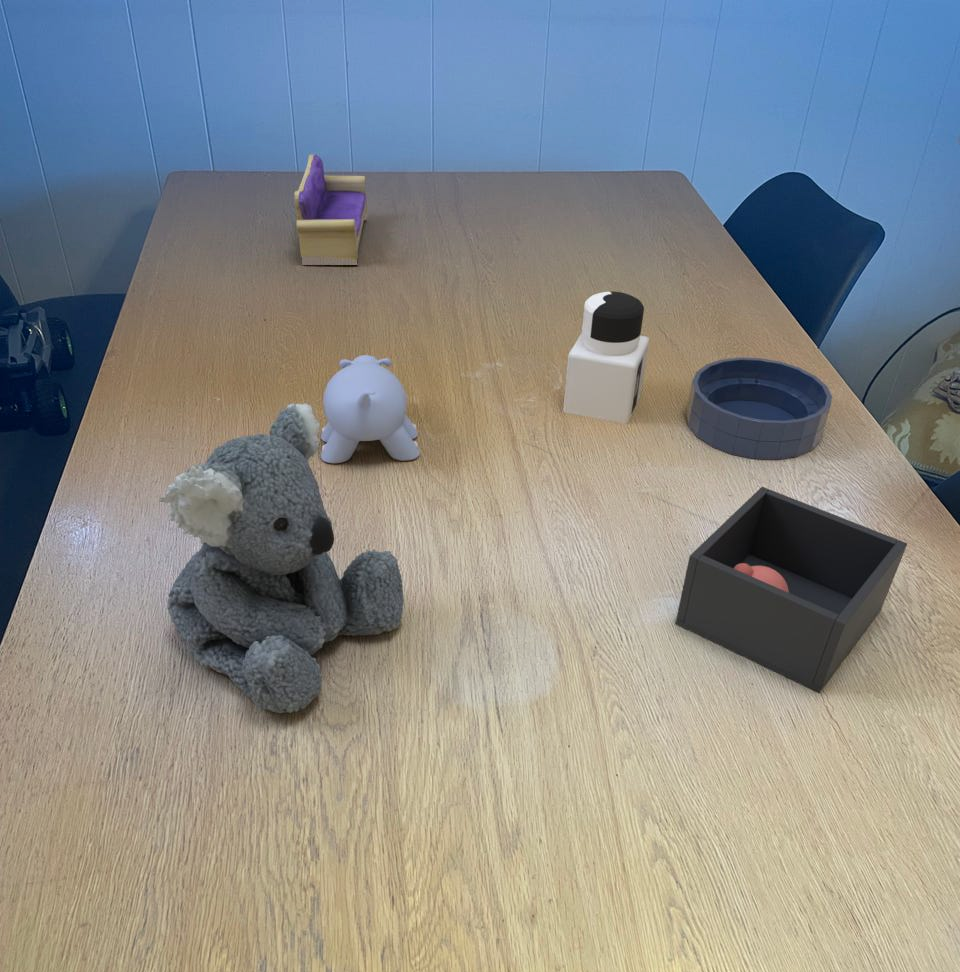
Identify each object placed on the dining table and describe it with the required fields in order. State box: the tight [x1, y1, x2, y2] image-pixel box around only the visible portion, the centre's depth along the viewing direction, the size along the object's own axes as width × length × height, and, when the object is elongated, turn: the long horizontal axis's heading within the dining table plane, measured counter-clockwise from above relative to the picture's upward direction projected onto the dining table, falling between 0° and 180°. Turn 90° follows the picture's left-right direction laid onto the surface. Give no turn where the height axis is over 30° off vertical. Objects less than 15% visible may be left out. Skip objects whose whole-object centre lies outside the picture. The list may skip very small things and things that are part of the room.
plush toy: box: [733, 563, 789, 593], centre depth 83 cm, size 5×5×6 cm
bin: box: [675, 486, 908, 693], centre depth 84 cm, size 14×14×8 cm
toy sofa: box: [293, 154, 368, 260], centre depth 147 cm, size 21×9×10 cm, turn 0°
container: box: [562, 291, 650, 425], centre depth 110 cm, size 8×8×13 cm
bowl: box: [685, 356, 833, 461], centre depth 109 cm, size 15×15×5 cm
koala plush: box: [158, 401, 405, 714], centre depth 77 cm, size 17×18×20 cm
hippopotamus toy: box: [320, 354, 421, 464], centre depth 104 cm, size 11×15×10 cm
